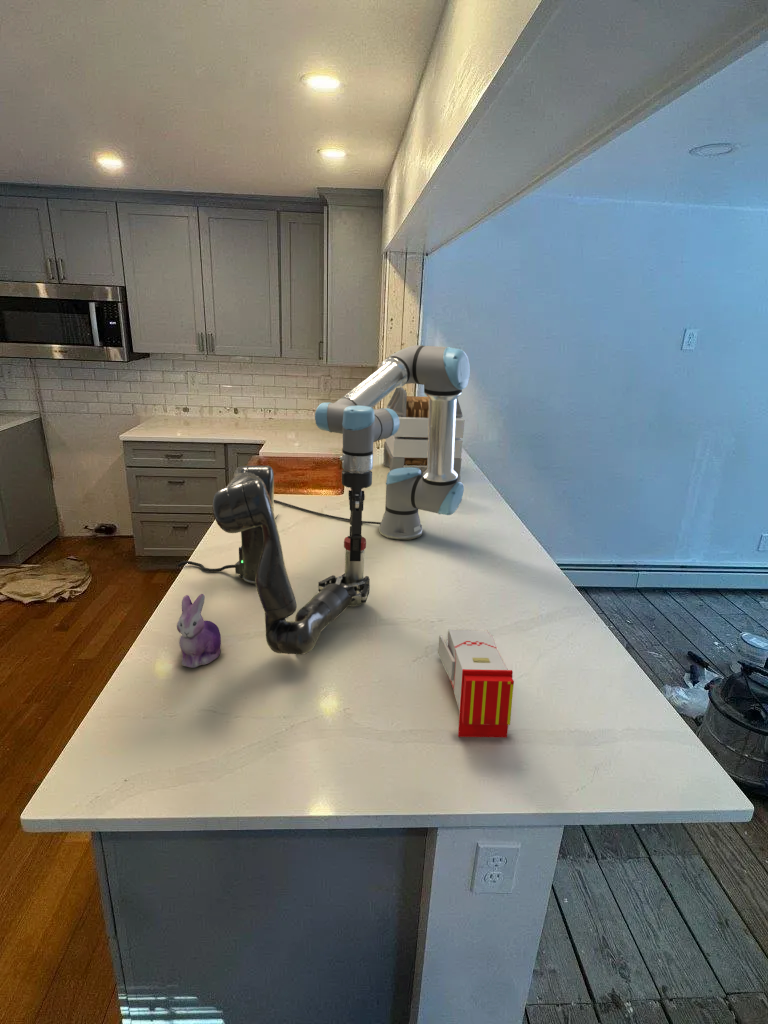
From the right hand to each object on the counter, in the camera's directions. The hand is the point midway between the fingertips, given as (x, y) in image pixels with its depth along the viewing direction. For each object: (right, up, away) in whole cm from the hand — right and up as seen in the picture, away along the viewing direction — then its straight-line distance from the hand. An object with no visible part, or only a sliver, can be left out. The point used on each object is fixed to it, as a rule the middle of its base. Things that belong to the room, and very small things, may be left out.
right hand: (354, 554), depth 148 cm
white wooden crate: (+25, +30, +127) cm, 133 cm away
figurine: (-33, -21, -22) cm, 45 cm away
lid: (0, +4, -1) cm, 4 cm away
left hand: (+1, -6, +5) cm, 8 cm away
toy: (+26, -26, -29) cm, 47 cm away
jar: (-1, -13, +5) cm, 14 cm away
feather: (-32, +9, +61) cm, 69 cm away
